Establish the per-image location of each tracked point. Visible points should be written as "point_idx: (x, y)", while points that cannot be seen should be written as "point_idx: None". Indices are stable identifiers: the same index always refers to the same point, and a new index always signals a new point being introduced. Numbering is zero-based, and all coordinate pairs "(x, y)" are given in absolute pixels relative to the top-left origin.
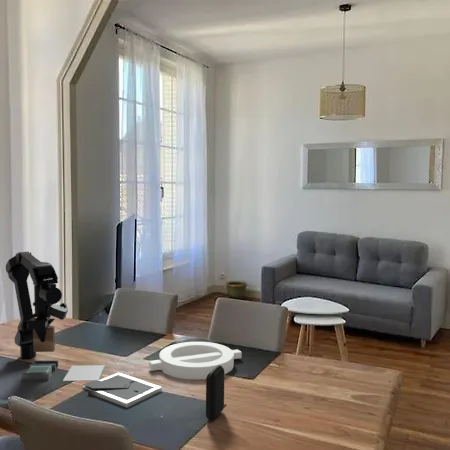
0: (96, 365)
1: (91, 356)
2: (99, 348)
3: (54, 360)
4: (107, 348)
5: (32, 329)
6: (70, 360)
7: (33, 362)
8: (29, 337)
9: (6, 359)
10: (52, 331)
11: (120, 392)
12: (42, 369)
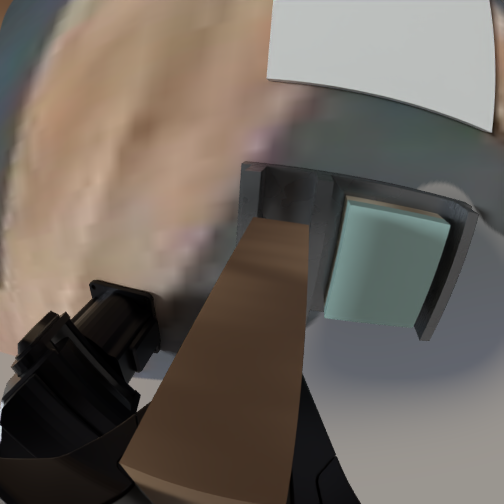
0: None
1: (100, 31)
2: (29, 45)
3: (247, 196)
4: (35, 15)
5: (72, 420)
6: (139, 117)
7: None
8: (107, 398)
9: (146, 374)
10: (297, 417)
11: None
12: (405, 255)
